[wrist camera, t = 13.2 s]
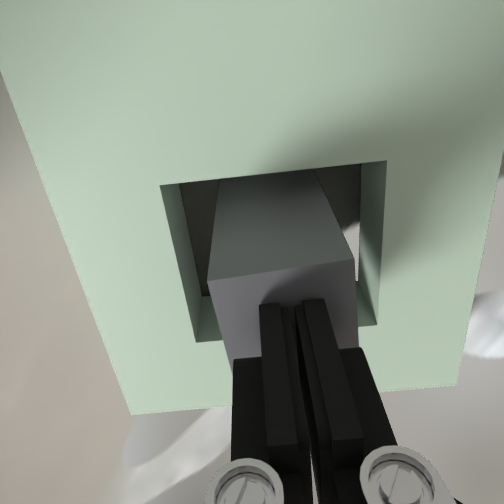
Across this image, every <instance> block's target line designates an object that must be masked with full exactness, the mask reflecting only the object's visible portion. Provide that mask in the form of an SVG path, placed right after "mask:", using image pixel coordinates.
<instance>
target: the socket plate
mask: <svg viewBox="0 0 504 504" xmlns="http://www.w3.org/2000/svg"><path fill="white" fill-rule="evenodd" d="M0 72H1V74H2V77H3V80H4V82H5V85H6V88H7V90H8V93H9V96H10V98H11V101H12V103H13V106H14V109H15V111H16V114H17V117H18V119H19V122H20V124H21V127H22V130H23V132H24V135H25V138H26V140H27V143H28V145H29V148H30V151H31V153H32V156H33V159H34V161H35V164H36V166H37V169H38V172H39V174H40V177H41V180H42V182H43V185H44V187H45V190H46V193H47V195H48V198H49V201H50V203H51V206H52V208H53V211H54V214H55V216H56V219H57V222H58V224H59V227H60V229H61V232H62V235H63V237H64V240H65V243H66V245H67V248H68V250H69V253H70V256H71V258H72V261H73V264H74V266H75V269H76V272H77V274H78V277H79V279H80V282H81V285H82V287H83V290H84V293H85V295H86V298H87V300H88V303H89V306H90V308H91V311H92V314H93V316H94V319H95V321H96V324H97V327H98V329H99V332H100V335H101V337H102V340H103V342H104V345H105V348H106V350H107V353H108V356H109V358H110V361H111V363H112V366H113V369H114V371H115V374H116V377H117V379H118V382H119V384H120V387H121V390H122V392H123V395H124V398H125V400H126V403H127V405H128V408H129V411H130V413H131V415H137V414H148V413H159V412H170V411H180V410H192V409H202V408H213V407H224V406H232V385H233V375H232V372H231V368H230V364H229V361H228V357H227V353H226V350H225V346H224V342H223V339H222V335H221V331H220V328H219V324H218V320H217V317H216V313H215V309H214V306H213V302H212V298H211V296H203V297H202V294H201V289H200V284H199V280H198V275H197V270H196V265H195V260H194V255H193V251H192V246H191V241H190V236H189V231H188V226H187V221H186V217H185V212H184V207H183V202H182V197H181V192H180V188H179V183H185V182H194V181H203V180H212V179H221V178H230V177H239V176H248V175H257V174H267V173H276V172H285V171H294V170H303V169H312V168H321V167H330V166H339V165H349V164H358V163H362V164H361V200H360V236H359V237H360V239H359V271H358V272H359V273H358V281H356V298H357V317H358V335H359V347H361V348H362V349H363V351H364V354H365V356H366V359H367V362H368V364H369V367H370V370H371V373H372V376H373V378H374V381H375V384H376V387H377V389H378V392H387V391H398V390H409V389H419V388H430V387H442V386H453V385H456V383H457V379H458V374H459V369H460V363H461V359H462V354H463V349H464V344H465V339H466V334H467V329H468V325H469V320H470V315H471V310H472V305H473V300H474V295H475V290H476V285H477V280H478V275H479V270H480V265H481V261H482V255H483V250H484V245H485V240H486V236H487V231H488V226H489V221H490V216H491V211H492V206H493V201H494V196H495V192H496V187H497V182H498V177H499V172H500V167H501V162H502V157H503V152H504V0H0Z"/></svg>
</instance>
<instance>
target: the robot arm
mask: <svg viewBox="0 0 504 504" xmlns="http://www.w3.org/2000/svg"><path fill="white" fill-rule="evenodd" d="M295 321H296V336H297V350H298V365H299V371H298V365H297V359H296V353H295V346H294V340H293V334H292V328H291V321H290V315H289V309H288V307H286V308H280V304H279V303H270V304H260V305H259V322H260V339H261V355H262V356H261V357H251V358H240V359H234V360H233V385H232V432H231V462H230V463H227V464H226V465H225V466H223V467H222V468H221V469H219V470H218V471H217V473H216V474H215V476H214V477H213V478H212V480H211V481H210V484H209V486H208V489H207V492H206V496H205V500H204V504H313V492H312V474H311V459H312V466H313V472H314V478H315V485H316V491H317V497H318V504H462V503H461V502H459V501H458V500H456V499H455V498H453V496H452V495H451V493H450V491H449V490H448V488H447V487H446V485H445V483H444V481H443V480H442V478H441V476H440V475H439V473H438V471H437V470H436V469H435V468H434V466H433V465H432V464H431V463H430V461H428V460H427V459H426V458H425V457H423V456H422V455H421V454H419V453H417V452H415V451H413V450H411V449H409V448H406V447H401V446H398V445H397V442H396V439H395V437H394V434H393V431H392V429H391V425H390V423H389V420H388V417H387V414H386V412H385V409H384V406H383V403H382V400H381V398H380V395H379V392H378V389H377V387H376V384H375V381H374V378H373V376H372V373H371V370H370V367H369V364H368V362H367V359H366V356H365V354H364V351H363V349H362V348H361V347H355V348H345V349H339V348H338V345H337V342H336V338H335V335H334V331H333V328H332V324H331V321H330V317H329V314H328V310H327V307H326V303H325V300H324V298H320V299H310V300H302V306H296V307H295ZM310 453H311V456H310Z"/></svg>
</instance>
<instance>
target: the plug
mask: <svg viewBox="0 0 504 504" xmlns="http://www.w3.org/2000/svg"><path fill="white" fill-rule="evenodd" d="M207 284H208V287H209V291H210V295H211V298H212V302H213V306H214V309H215V313H216V317H217V320H218V324H219V328H220V331H221V335H222V339H223V342H224V346H225V350H226V353H227V357H228V361H229V364H230V368H231V372H232V375H233V360H234V359H240V358H251V357H261V356H262V355H261V339H260V322H259V305H260V304H270V303H279V304H280V308H286V307H288V309H289V315H290V321H291V328H292V334H293V340H294V346H295V353H296V359H297V365H298V350H297V336H296V321H295V307H296V306H302V300H310V299H320V298H324V300H325V303H326V307H327V310H328V314H329V317H330V321H331V324H332V328H333V331H334V335H335V338H336V342H337V345H338V348H339V349H345V348H355V347H359V335H358V317H357V298H356V280H355V261H354V257H353V254H352V252H351V250H350V248H349V246H348V244H347V241H346V239H345V237H344V235H343V233H342V230H341V228H340V226H339V224H338V222H337V220H336V217H335V215H334V213H333V211H332V209H331V206H330V204H329V202H328V200H327V198H326V196H325V193H324V191H323V189H322V187H321V185H320V182H319V180H318V178H317V176H316V174H315V172H314V169H313V168H312V169H303V170H294V171H285V172H276V173H267V174H257V175H248V176H239V177H230V178H221V179H219V187H218V195H217V203H216V211H215V219H214V228H213V236H212V244H211V252H210V260H209V268H208V277H207ZM298 371H299V365H298Z"/></svg>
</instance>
